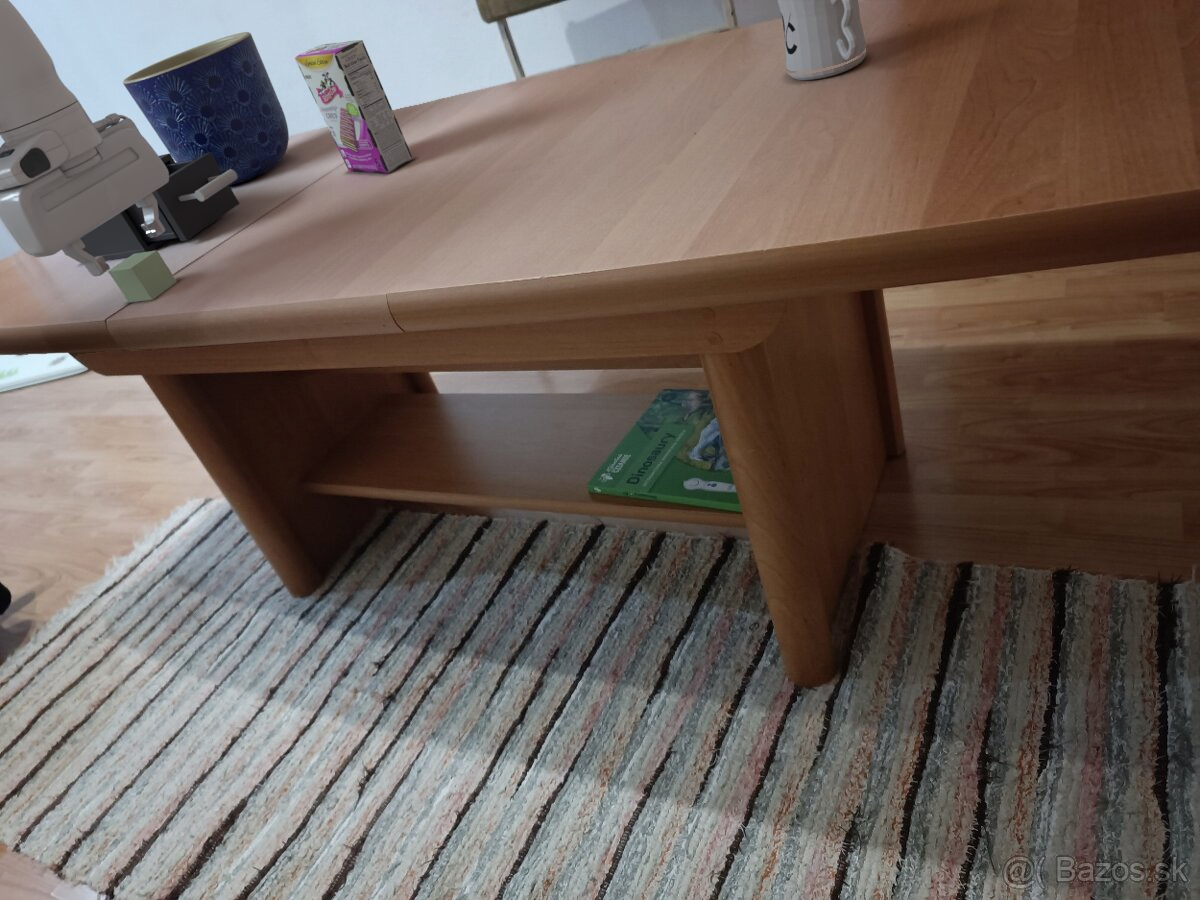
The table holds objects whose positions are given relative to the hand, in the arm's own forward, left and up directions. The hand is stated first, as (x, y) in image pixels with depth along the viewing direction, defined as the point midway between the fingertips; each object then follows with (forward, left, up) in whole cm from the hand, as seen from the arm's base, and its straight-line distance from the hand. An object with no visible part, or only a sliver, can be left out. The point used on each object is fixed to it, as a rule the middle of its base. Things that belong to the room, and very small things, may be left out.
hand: (130, 253), depth 105 cm
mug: (+38, -77, -5) cm, 86 cm away
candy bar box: (+33, -14, -5) cm, 36 cm away
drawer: (+19, +11, -4) cm, 22 cm away
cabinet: (+19, +22, -5) cm, 30 cm away
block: (0, 0, -5) cm, 5 cm away
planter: (+42, +20, -5) cm, 47 cm away
